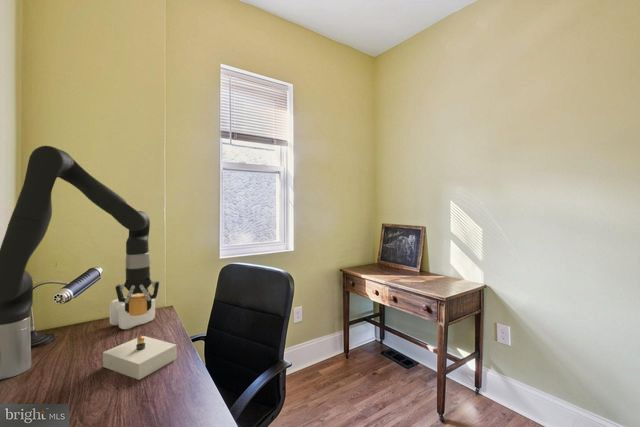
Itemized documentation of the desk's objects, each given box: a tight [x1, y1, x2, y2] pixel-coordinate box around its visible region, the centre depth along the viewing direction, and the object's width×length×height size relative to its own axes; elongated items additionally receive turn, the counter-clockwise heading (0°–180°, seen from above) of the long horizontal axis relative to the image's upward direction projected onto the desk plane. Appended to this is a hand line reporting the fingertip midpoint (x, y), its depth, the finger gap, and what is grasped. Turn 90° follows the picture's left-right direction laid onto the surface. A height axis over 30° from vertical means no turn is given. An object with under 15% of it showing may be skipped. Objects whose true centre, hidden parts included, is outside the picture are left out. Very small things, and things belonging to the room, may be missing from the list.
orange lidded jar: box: [129, 293, 148, 316], centre depth 109 cm, size 6×6×6 cm
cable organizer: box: [108, 293, 156, 330], centre depth 136 cm, size 15×11×12 cm
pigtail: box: [136, 335, 145, 350], centre depth 102 cm, size 3×3×4 cm
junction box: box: [102, 335, 178, 381], centre depth 103 cm, size 14×18×5 cm
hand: (138, 310), depth 109 cm, fingers closed on orange lidded jar, 5 cm apart
